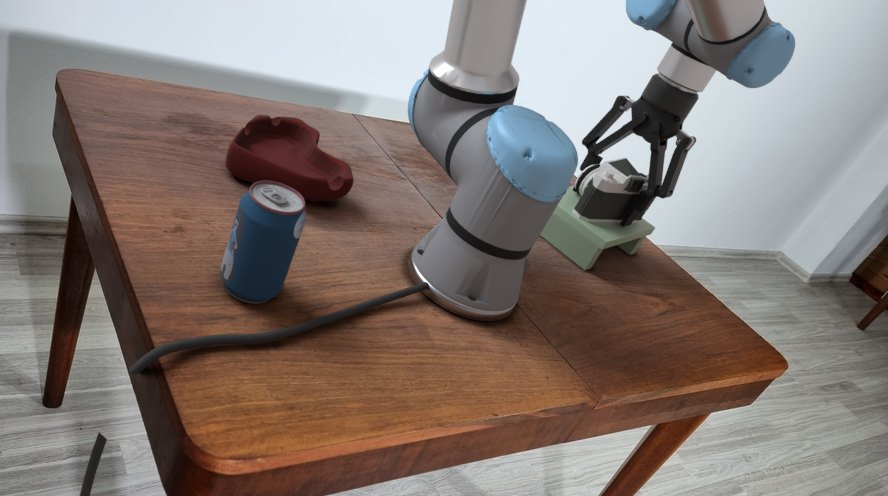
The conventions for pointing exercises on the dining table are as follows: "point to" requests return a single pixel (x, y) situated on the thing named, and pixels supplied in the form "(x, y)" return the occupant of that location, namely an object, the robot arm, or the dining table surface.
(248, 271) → the soda can
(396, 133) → the dining table surface
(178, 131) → the dining table surface
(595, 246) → the shelf
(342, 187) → the ashtray
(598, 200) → the camera
